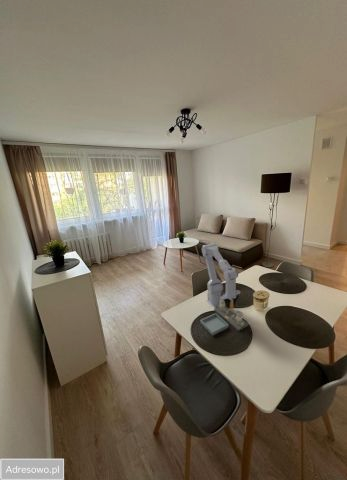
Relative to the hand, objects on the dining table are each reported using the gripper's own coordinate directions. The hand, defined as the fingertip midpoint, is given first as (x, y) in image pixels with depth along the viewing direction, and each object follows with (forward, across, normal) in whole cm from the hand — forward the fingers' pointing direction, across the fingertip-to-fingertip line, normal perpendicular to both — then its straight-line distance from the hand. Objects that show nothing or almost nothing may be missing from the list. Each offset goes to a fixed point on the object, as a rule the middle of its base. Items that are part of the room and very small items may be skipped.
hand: (230, 306), depth 119 cm
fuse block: (+8, 0, 0) cm, 8 cm away
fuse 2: (+7, 0, -8) cm, 10 cm away
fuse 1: (+7, 0, +8) cm, 10 cm away
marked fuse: (+2, 0, 0) cm, 2 cm away
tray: (+8, -13, 0) cm, 15 cm away
